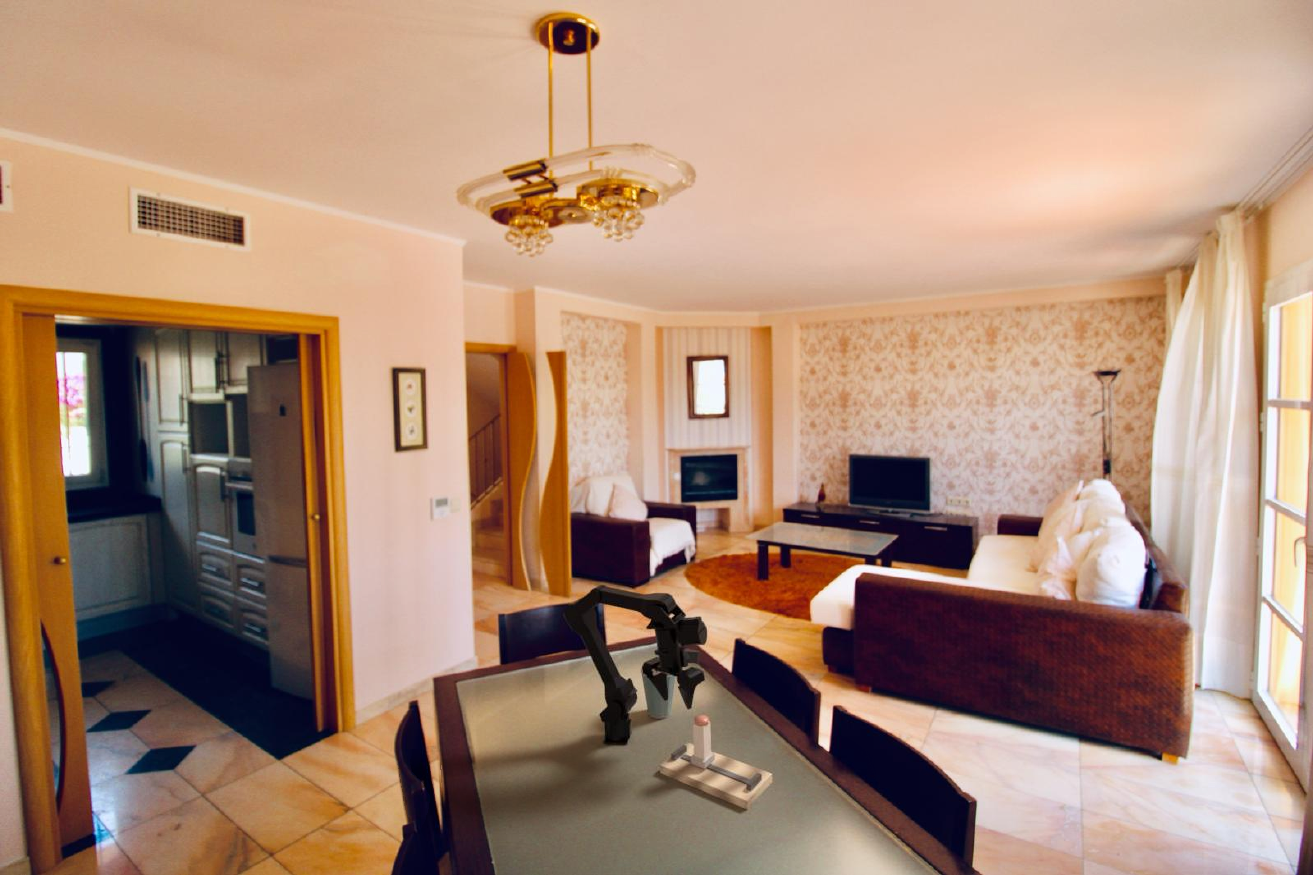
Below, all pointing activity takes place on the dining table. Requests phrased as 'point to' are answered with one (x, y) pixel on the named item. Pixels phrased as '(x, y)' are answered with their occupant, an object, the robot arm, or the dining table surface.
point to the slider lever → (702, 742)
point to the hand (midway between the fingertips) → (677, 704)
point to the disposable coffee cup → (658, 697)
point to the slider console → (718, 776)
